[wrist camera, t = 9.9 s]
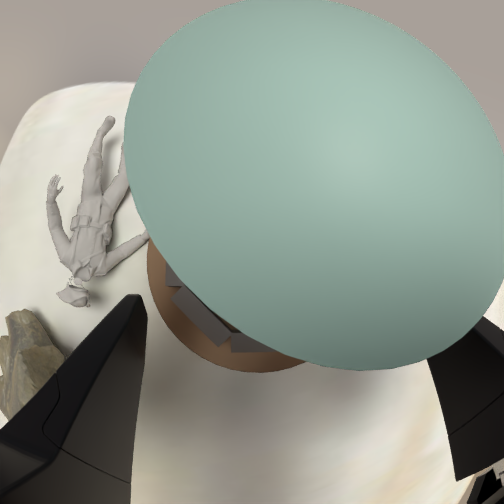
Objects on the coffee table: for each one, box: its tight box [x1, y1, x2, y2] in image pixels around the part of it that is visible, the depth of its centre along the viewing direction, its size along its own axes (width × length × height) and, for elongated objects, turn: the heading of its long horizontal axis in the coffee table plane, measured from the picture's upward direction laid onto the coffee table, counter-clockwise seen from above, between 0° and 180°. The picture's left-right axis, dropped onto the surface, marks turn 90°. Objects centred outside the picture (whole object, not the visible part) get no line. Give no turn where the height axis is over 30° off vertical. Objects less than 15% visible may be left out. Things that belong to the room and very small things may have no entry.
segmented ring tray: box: [147, 237, 306, 373], centre depth 16 cm, size 13×13×4 cm
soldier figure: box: [46, 116, 150, 307], centre depth 16 cm, size 8×5×12 cm
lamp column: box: [123, 0, 504, 371], centre depth 9 cm, size 6×6×13 cm
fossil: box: [0, 309, 64, 421], centre depth 10 cm, size 14×10×10 cm
